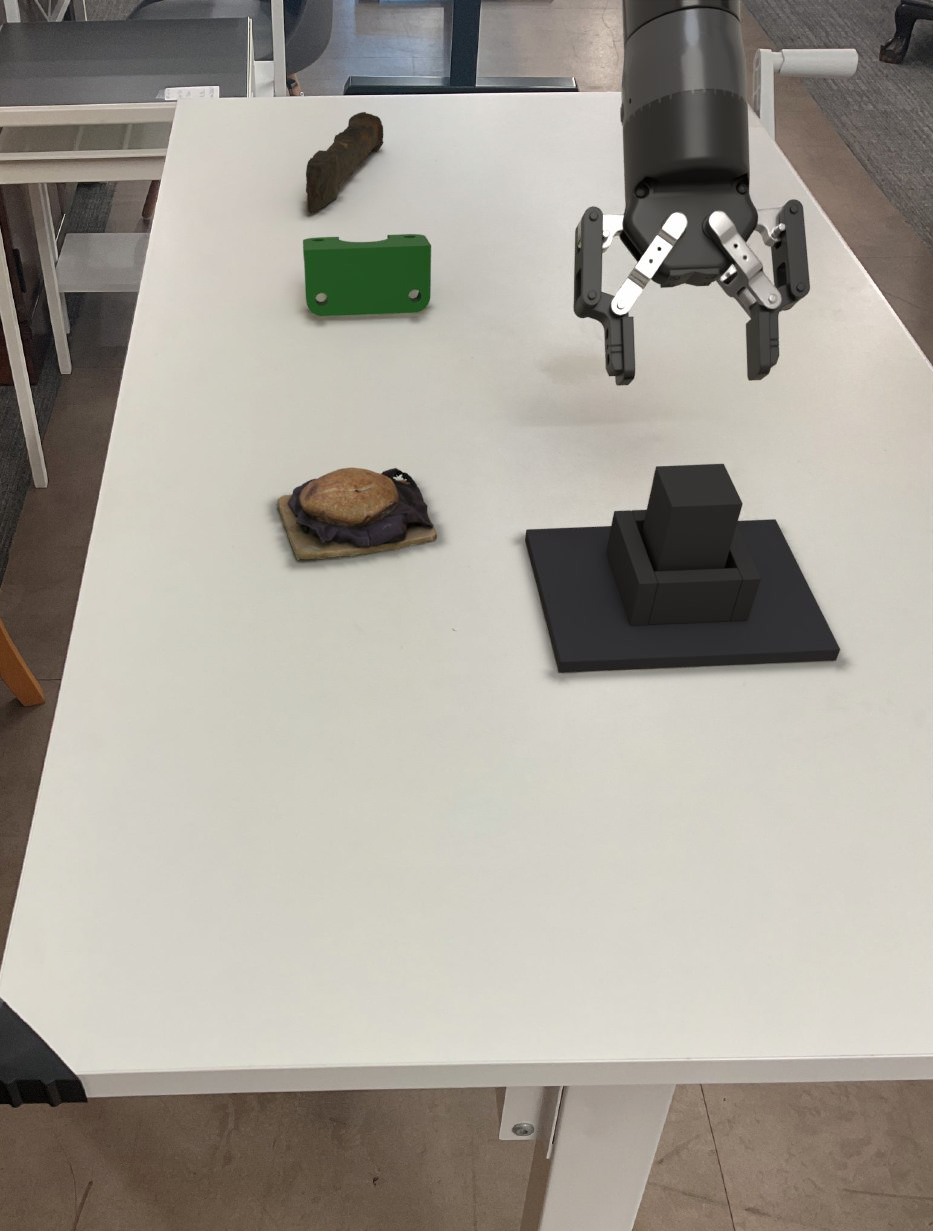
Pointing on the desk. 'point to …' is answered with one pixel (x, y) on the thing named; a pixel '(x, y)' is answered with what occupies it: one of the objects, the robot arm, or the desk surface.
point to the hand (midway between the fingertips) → (692, 379)
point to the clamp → (367, 275)
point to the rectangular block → (690, 517)
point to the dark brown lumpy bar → (341, 159)
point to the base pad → (673, 601)
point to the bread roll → (355, 514)
